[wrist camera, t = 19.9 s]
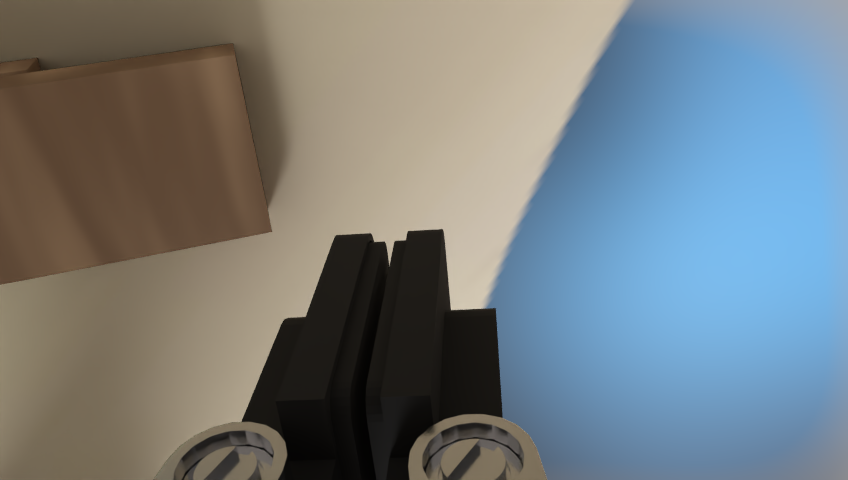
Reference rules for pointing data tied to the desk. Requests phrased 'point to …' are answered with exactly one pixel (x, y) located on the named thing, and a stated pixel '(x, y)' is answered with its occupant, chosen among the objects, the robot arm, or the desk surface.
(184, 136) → the tile
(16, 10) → the desk surface
